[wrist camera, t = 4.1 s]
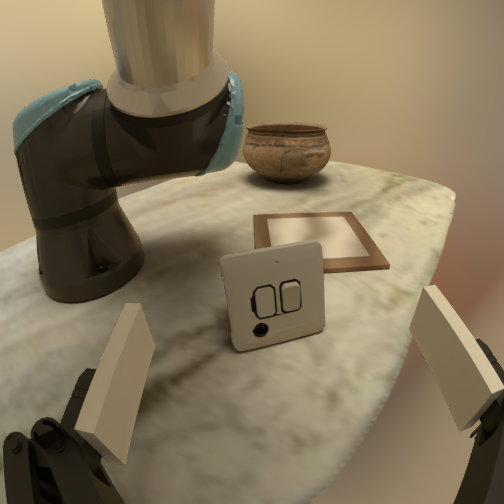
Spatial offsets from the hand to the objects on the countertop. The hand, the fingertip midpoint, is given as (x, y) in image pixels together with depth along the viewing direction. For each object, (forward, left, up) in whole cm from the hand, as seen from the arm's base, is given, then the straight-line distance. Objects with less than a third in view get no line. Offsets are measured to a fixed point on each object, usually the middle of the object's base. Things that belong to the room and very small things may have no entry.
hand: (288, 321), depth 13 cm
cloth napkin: (+7, +26, -10) cm, 29 cm away
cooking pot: (+7, +55, -10) cm, 57 cm away
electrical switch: (0, +10, -10) cm, 15 cm away
